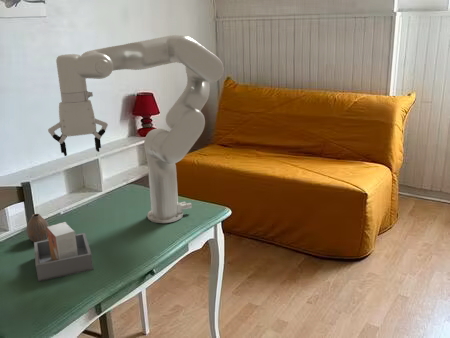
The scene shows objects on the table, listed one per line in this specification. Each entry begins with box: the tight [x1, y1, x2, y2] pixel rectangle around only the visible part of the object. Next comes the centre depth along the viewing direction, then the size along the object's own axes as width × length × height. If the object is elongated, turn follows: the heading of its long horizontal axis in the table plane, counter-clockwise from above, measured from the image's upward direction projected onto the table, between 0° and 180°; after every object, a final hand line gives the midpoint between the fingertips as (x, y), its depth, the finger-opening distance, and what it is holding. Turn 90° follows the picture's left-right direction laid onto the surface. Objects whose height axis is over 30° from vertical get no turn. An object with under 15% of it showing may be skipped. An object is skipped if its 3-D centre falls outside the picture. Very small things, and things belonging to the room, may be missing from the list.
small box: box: [47, 221, 78, 261], centre depth 133 cm, size 8×6×10 cm
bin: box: [33, 232, 94, 283], centre depth 134 cm, size 15×15×5 cm
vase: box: [26, 213, 50, 243], centre depth 147 cm, size 7×7×9 cm
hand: (81, 152), depth 142 cm, fingers open, 9 cm apart
